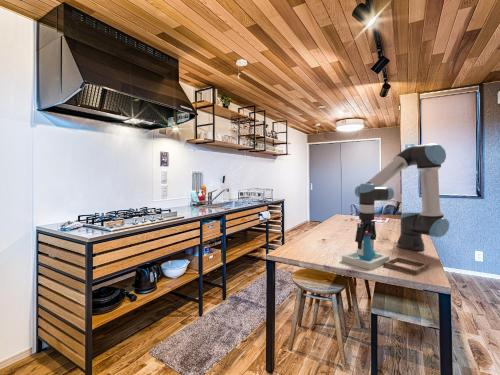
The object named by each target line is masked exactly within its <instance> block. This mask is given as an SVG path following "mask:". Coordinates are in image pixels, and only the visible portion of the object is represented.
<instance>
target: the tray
mask: <svg viewBox="0 0 500 375" xmlns="http://www.w3.org/2000/svg"><path fill="white" fill-rule="evenodd" d="M390 259H391V258H390V255H387V254H384V253H378V252H375V256H374V259H372V261H369V262H368V261H364V260H360V259H359V257H358V254H357V250H354V251H352V252H349V253H346V254H343V255H341V262H342V263H347V264H349V265H353V266H356V267H360V268H363V269H367V270H371V271H372V270H373V269H375V268H378V267H379V266H382V265H383V266H384V262H386V261H388V260H390Z"/></svg>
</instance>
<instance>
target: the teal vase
mask: <svg viewBox="0 0 500 375" xmlns="http://www.w3.org/2000/svg"><path fill="white" fill-rule="evenodd" d="M371 235H372V234H371V233H369V232H367V231H366V232H365V236H364V239H363V242H362V243H363V256H362V255H358V257H359V259H360V260H364V261H368V262H369V261H372V259H374V256H375V253H376V251H375V250H373V248H372V247H371V245H370V238H371ZM356 251H357V254H358V249H356Z"/></svg>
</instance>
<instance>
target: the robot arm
mask: <svg viewBox="0 0 500 375" xmlns="http://www.w3.org/2000/svg"><path fill="white" fill-rule="evenodd" d="M446 159H447V153H446V149H445V148H444V147H443V146H442V145H440V144H438V143H427V144H419V145H413V146H408V147H407V148H406V149H404V150H402V151H400V152H399V153H397V155H396V156H394V157H393V158H392V160H391V162H389V163H388V164H387V165H386V166H384V168H382V169H381V170H379V172H378V173H376V174H375V175H374V176H372V178H370V179H369V180H368V181H367V182H365V183H360V185H358V186H356V187H355V189H354V195H355V196H356V198H358V199H359V202H358V203H359V204H358V211H359V213H358V219H359V220H360V223H357V225H356V227H357V228H356V234H355V240H354V242H356V243H357V250H358V255H362V256H363V239H364V236H365V232H369V233H371V234H372V235H371V238H370V245H371V247H372V248H373V250H374V249H375V246H374V245H375V241H376V240H377V232H376V221H375V204H376V203H375V202H376V201H391V200H392V199H393V198H394V197H395V196H394V195H395V191H394V189H393V188H392V187H390V186H384V185H386V184H387V183H388V182H390V180H392V178H393V179H394V177H396V175H397V174H398V173H400V172H401V171H402V170H406V169H407V168H408V167H411V166H416V169H417V170H418V171H419V172H420V188H421V189H420V190H421V191H420V192H421V211H404V212H402V213H401V214H400V235H399V237H398V240H397V242H396V246H397V247H398V248H401V249H402V250H403V249H404V250H411V251H424V250H425V248H426V247H425V246H426V245H425V243H424V239H423V236H422V235H426V236H428V237H432V238H433V237H434V238H442V237H444V236H445V235H446V234H447V233H448V231H449V228H450V221H449V220H448V219H447V218H446V217H445V216H444V213H443V212H442V211H441V203H440V186H439V185H440V183H439V182H440V181H439V169H441V168H442V164H443V163H445V161H446ZM374 251H375V250H374Z"/></svg>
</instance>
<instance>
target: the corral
mask: <svg viewBox="0 0 500 375" xmlns="http://www.w3.org/2000/svg"><path fill="white" fill-rule="evenodd" d="M397 262H399V263H400V262H401V263H404V264H408V265H412V266H417V268H415V269H413V268H409V267H406V266H403V265H398V264H395V263H397ZM383 267H386V268H389V269H392V270H395V271H396V270H397V271H400V272H403V273H407V274H410V275H413V276H417V275H418V274H420V273H422V272H424V271H426V270H427V269H429V263H425V262H420V261H417V260H412V259H408V258H404V257H401V256H396V257H393V258H390V260H388V261H386V262H384V264H383Z"/></svg>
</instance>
